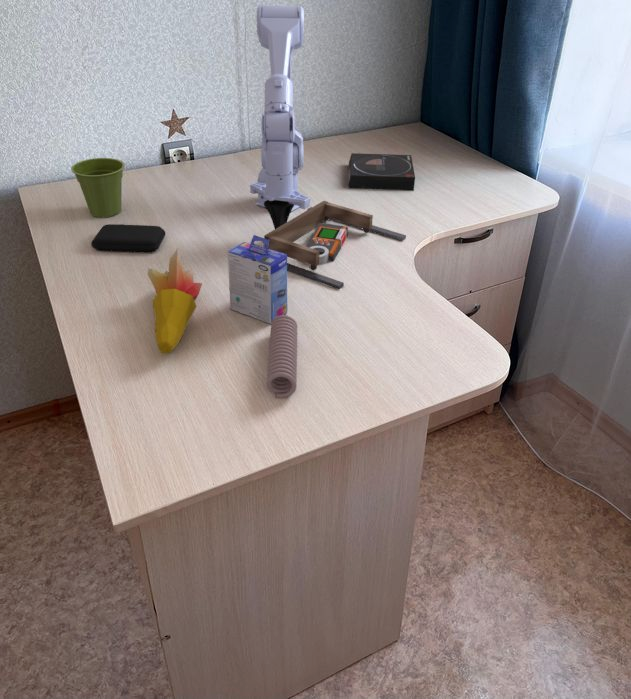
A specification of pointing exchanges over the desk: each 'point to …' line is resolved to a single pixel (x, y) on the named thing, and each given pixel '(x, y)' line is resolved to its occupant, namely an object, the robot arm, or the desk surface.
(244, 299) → the ink cartridge box
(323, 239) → the electronic device
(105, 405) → the desk surface
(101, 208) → the plant pot
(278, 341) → the coil
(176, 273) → the torch
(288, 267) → the track
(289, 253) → the dolly
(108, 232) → the carrying case or bag
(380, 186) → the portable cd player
